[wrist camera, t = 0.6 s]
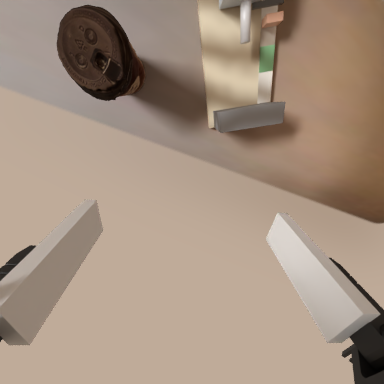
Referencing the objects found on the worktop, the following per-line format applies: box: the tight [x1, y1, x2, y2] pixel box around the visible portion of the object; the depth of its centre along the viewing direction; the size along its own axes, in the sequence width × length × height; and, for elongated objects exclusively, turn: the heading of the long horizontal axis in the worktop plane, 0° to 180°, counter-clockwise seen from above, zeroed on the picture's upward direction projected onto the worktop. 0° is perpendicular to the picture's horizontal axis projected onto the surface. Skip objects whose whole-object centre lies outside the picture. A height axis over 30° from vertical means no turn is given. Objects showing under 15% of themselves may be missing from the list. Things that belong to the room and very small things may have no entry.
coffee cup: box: [57, 5, 146, 101], centre depth 23 cm, size 9×8×13 cm
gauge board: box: [197, 0, 285, 133], centre depth 24 cm, size 23×12×8 cm, turn 8°
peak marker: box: [261, 11, 284, 29], centre depth 24 cm, size 1×2×2 cm, turn 98°
